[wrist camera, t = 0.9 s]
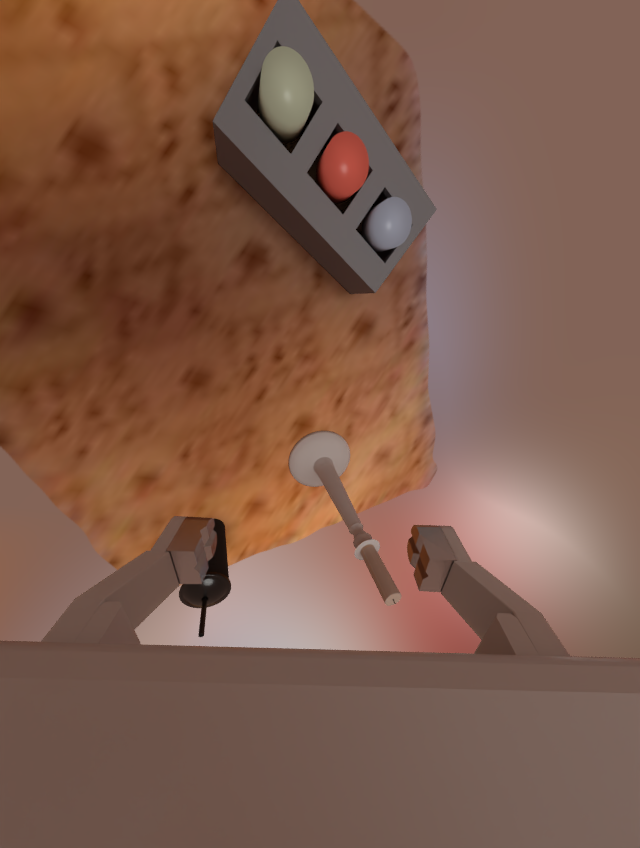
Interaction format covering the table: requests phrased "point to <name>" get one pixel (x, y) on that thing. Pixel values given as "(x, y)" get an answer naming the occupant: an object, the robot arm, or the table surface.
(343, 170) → the red button
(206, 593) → the drinking cup
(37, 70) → the table surface
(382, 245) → the blue button
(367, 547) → the candlestick
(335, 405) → the table surface
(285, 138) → the green button
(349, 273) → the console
